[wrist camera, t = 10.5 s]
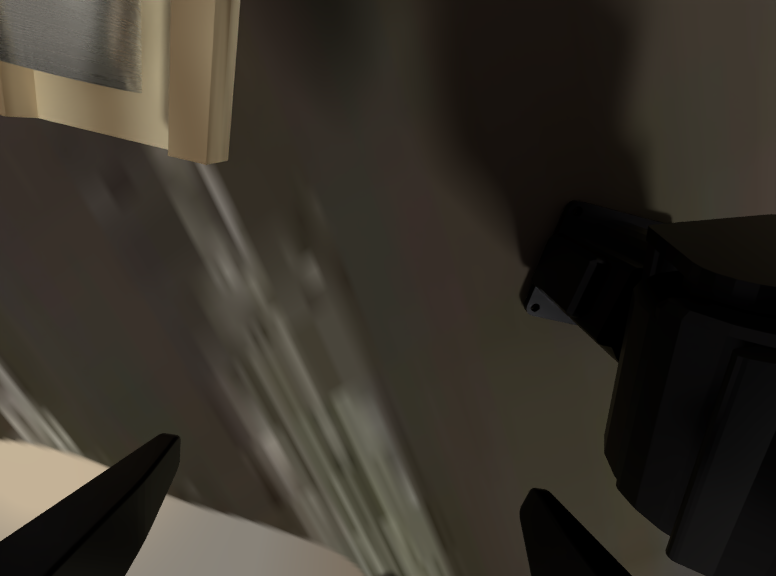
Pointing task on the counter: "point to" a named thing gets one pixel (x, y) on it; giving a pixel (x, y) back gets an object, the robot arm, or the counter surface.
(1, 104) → the cradle
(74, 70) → the axle
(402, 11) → the counter surface
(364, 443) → the counter surface
